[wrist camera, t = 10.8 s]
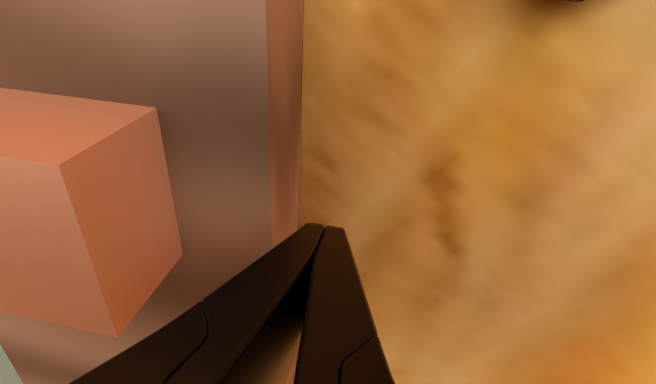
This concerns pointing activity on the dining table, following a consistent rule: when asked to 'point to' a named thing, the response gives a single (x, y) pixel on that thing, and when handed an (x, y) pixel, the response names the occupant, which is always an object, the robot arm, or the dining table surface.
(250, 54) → the plate
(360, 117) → the dining table surface
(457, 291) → the dining table surface
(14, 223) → the salmon pink cube
